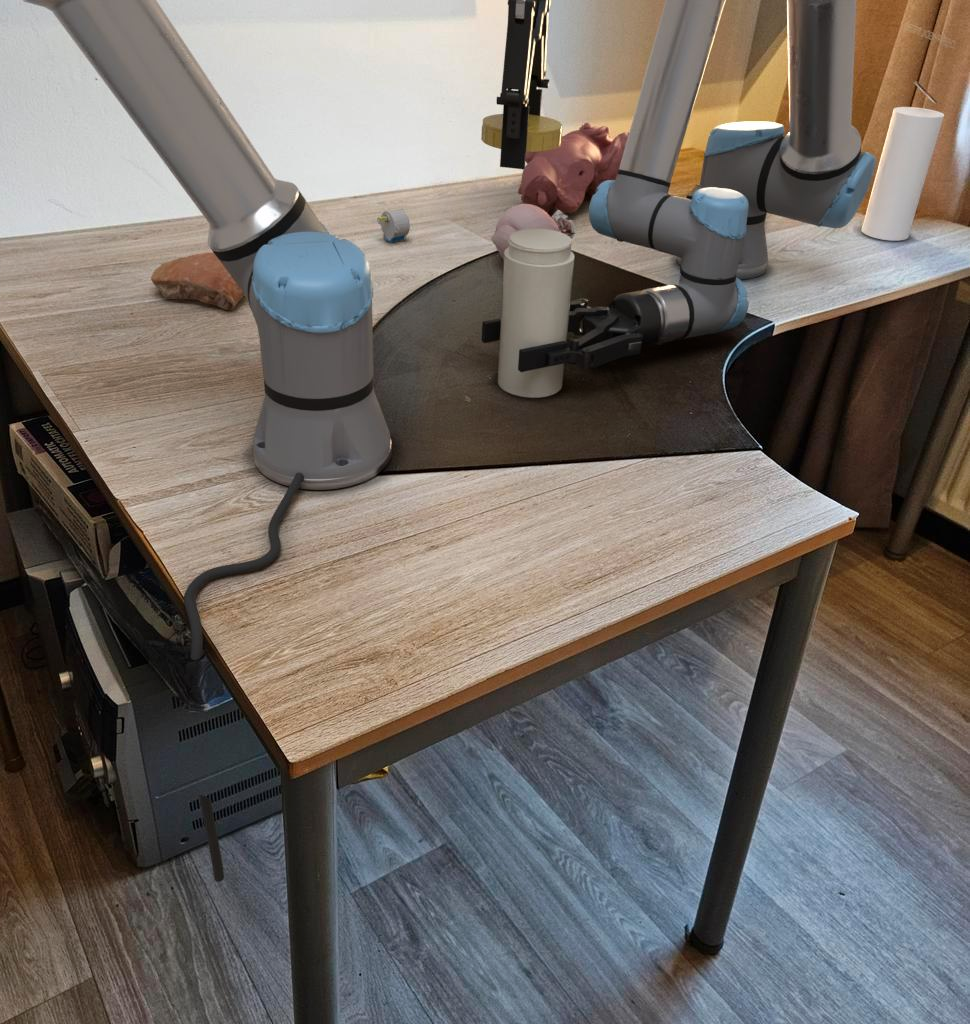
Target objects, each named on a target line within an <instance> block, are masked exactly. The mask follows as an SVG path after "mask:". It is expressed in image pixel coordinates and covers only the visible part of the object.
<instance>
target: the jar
mask: <svg viewBox="0 0 970 1024" xmlns="http://www.w3.org/2000/svg"><path fill="white" fill-rule="evenodd" d="M572 241H573V239H571V238H570V237H569V236H568V235H566V234H564V233H561V232H558V231H554V230H548V229H524V230H519V231H516V232H514V233H512V234H511V235H510V239H509V241H508V243H509V247H508V248H507V249H506V250H505V252H504V259H503V268H502V269H503V271H502V288H501V306H500V307H501V310H500V311H501V312H500V318H501V325H500V340H499V345H498V363H497V367H498V368H497V385H498V386H499V387H500V389H502V390H503V392H506V393H508V394H511V395H513V396H516V397H521V398H529V399H530V398H531V399H534V398H535V399H537V398H538V399H539V398H546V397H550V396H553V395H556V394H557V393H559V392H560V391H561V390H562V389H563V382H564V375H565V374H564V372H565V363H564V364H560V365H555V366H549V367H544V368H539V369H535V370H530V371H525V372H520V371H519V370H518V361H519V350H520V349H525V348H530V347H535V346H540V345H545V344H550V343H555V342H560V341H565V342H567V341H568V333H569V332H568V322H569V311H570V301H572V300H571V299H572V289H573V278H574V269H575V257H576V256H575V254H574V252H573V251H572V243H573V242H572ZM567 343H568V342H567Z"/></svg>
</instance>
